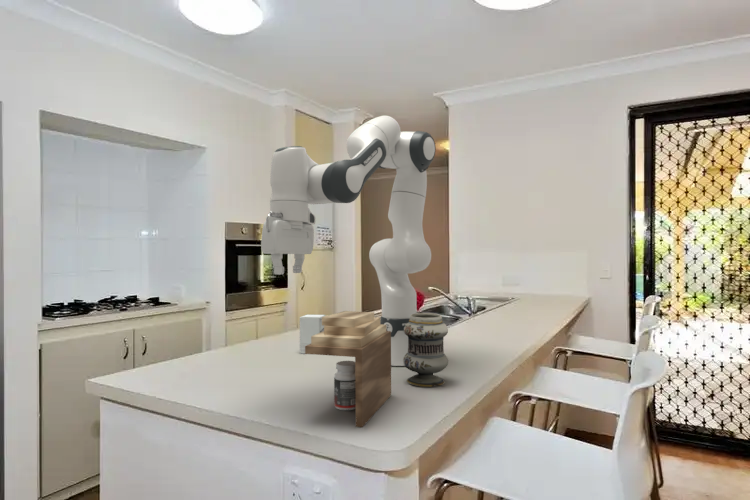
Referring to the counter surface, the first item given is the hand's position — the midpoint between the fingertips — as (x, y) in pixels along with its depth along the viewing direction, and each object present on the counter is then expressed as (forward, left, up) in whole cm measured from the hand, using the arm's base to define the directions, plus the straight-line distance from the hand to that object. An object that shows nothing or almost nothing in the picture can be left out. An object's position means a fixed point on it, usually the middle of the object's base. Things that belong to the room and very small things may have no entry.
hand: (288, 273), depth 113 cm
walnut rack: (-6, +14, -30) cm, 34 cm away
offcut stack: (-6, +14, -14) cm, 21 cm away
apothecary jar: (-34, +15, -30) cm, 48 cm away
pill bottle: (-6, +13, -30) cm, 34 cm away
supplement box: (-40, -37, -30) cm, 62 cm away
